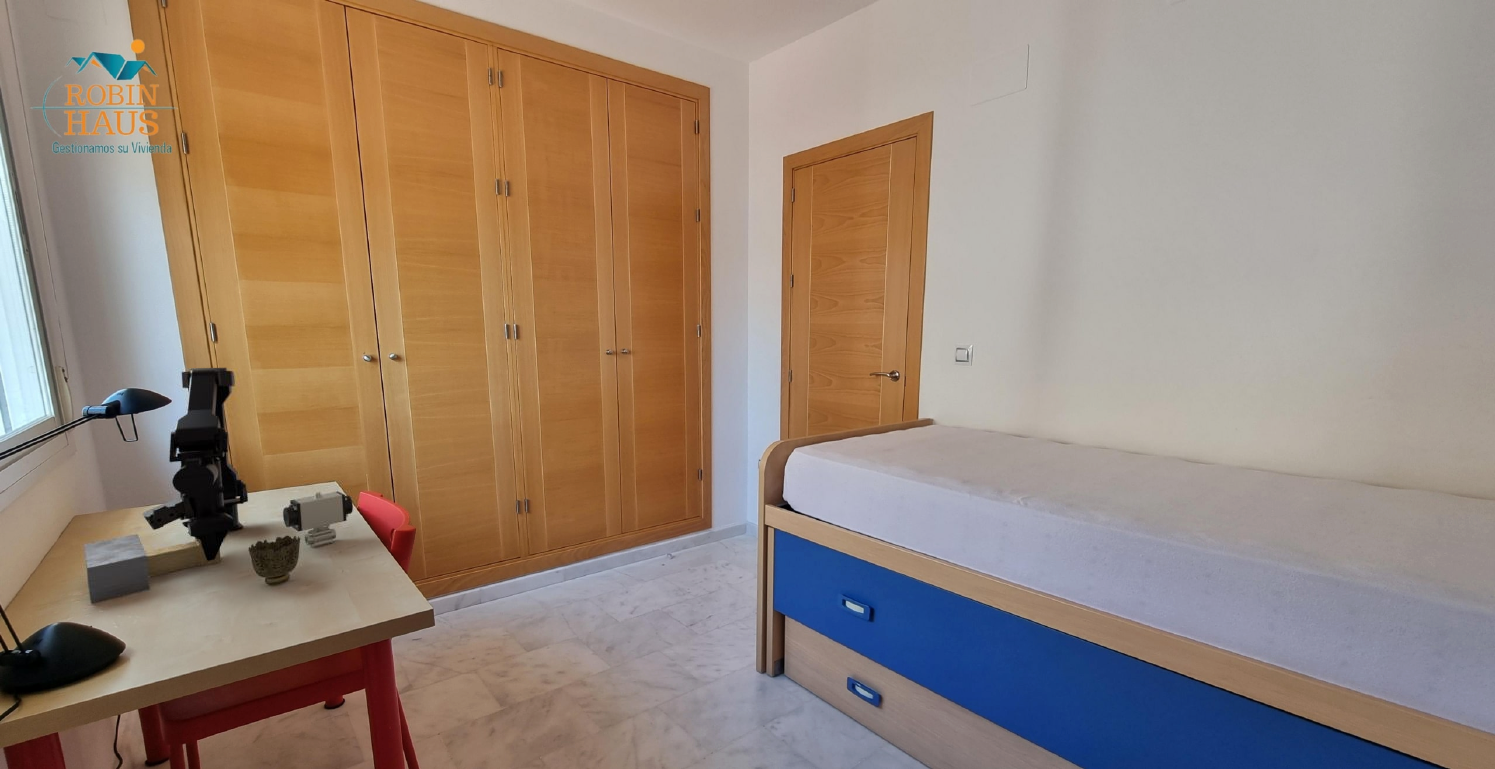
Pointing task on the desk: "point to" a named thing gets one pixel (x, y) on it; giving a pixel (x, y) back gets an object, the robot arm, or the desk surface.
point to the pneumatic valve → (318, 516)
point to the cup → (275, 559)
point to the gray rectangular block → (116, 568)
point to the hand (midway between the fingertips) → (208, 556)
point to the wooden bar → (177, 557)
